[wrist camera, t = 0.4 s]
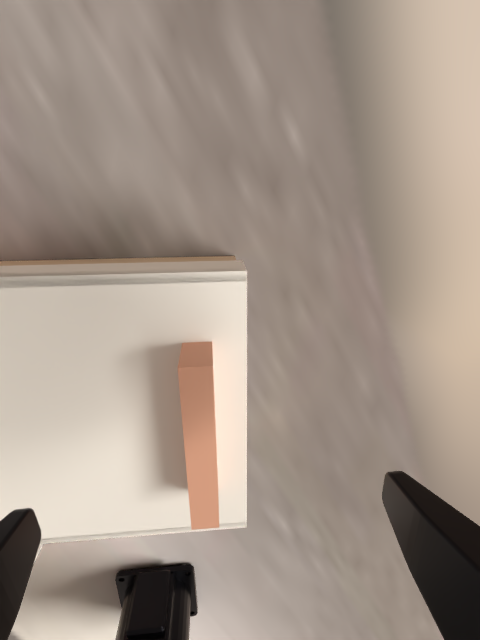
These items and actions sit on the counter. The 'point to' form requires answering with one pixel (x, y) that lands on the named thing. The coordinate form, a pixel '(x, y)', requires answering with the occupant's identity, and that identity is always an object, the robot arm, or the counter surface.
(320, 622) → the counter surface
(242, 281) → the lid
